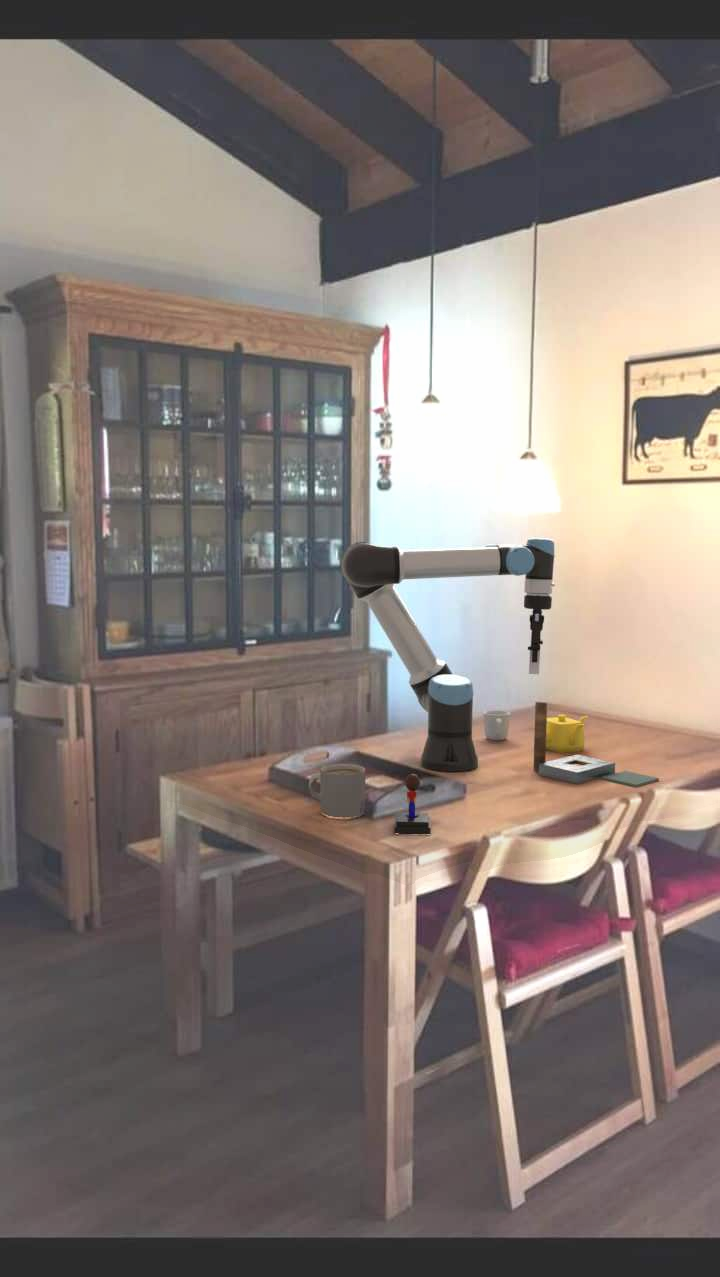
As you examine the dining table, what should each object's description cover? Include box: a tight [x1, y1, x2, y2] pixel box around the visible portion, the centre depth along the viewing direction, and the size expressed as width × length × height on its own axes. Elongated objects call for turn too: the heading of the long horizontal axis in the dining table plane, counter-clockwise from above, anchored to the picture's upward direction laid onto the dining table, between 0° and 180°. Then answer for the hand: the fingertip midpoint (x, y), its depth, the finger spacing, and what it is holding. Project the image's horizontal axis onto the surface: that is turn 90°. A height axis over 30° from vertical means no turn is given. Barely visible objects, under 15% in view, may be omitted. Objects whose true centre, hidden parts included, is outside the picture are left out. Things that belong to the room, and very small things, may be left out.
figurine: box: [393, 773, 432, 835], centre depth 219 cm, size 8×8×12 cm
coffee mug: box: [308, 763, 366, 818], centre depth 232 cm, size 13×10×10 cm
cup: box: [483, 709, 511, 741], centre depth 308 cm, size 11×8×8 cm
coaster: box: [601, 770, 660, 788], centre depth 262 cm, size 10×10×1 cm
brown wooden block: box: [533, 701, 548, 773], centre depth 270 cm, size 3×3×18 cm
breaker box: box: [538, 754, 616, 785], centre depth 267 cm, size 16×12×3 cm
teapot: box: [546, 714, 589, 754], centre depth 298 cm, size 15×14×10 cm
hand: (534, 670), depth 290 cm, fingers open, 13 cm apart
